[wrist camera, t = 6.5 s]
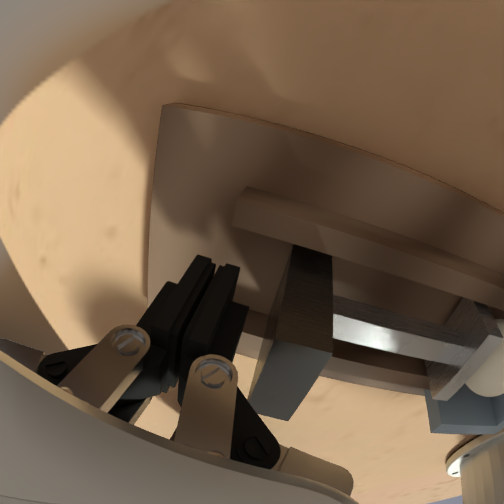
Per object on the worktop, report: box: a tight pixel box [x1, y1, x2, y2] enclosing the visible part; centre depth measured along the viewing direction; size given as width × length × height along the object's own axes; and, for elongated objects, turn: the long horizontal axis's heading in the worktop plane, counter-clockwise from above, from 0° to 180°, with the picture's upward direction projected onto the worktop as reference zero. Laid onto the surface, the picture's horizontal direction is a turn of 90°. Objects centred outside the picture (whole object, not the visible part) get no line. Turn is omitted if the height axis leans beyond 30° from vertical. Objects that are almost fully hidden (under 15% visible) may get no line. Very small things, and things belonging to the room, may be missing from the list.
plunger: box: [247, 244, 504, 421], centre depth 11 cm, size 10×4×6 cm, turn 78°
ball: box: [466, 319, 504, 397], centre depth 12 cm, size 4×4×4 cm
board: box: [148, 103, 504, 396], centre depth 13 cm, size 24×12×3 cm, turn 78°
